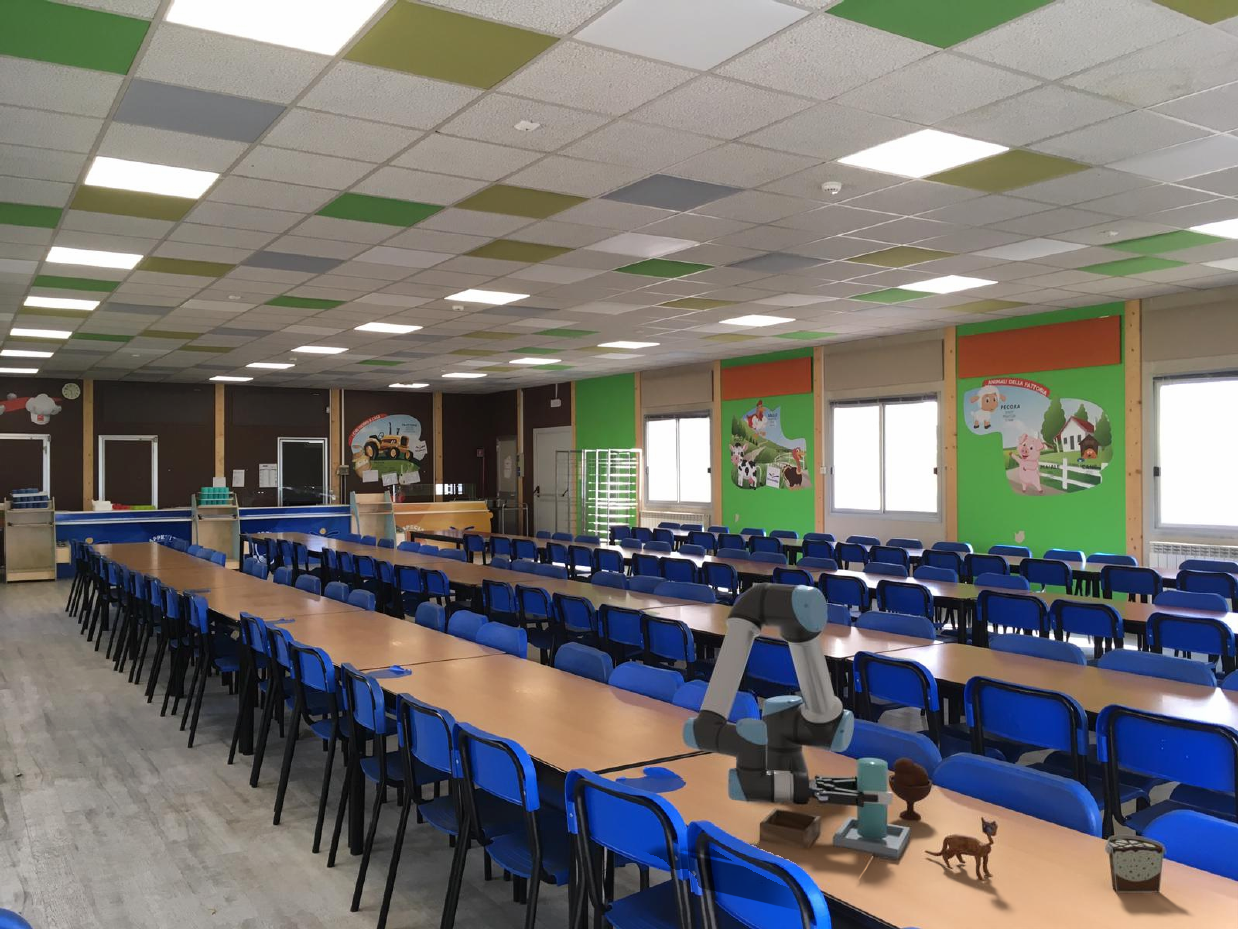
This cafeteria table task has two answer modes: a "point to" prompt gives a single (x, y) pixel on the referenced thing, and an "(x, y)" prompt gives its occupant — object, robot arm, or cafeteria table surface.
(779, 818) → the open wooden box
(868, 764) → the teal jar
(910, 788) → the ice cream bowl
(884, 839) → the tray
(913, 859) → the cafeteria table surface
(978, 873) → the cat figurine
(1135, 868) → the food container
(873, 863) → the cafeteria table surface
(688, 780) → the cafeteria table surface
